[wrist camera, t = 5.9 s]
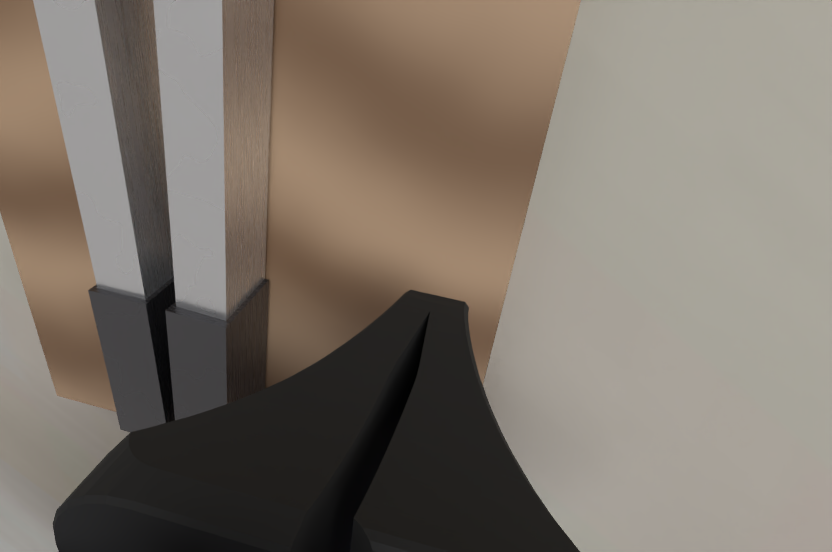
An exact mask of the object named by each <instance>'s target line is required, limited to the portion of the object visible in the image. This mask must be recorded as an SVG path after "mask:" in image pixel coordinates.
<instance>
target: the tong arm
mask: <svg viewBox="0 0 832 552" xmlns="http://www.w3.org/2000/svg"><path fill="white" fill-rule="evenodd" d="M153 3H154V17H155V30H156V43H157V57H158V70H159V84H160V97H161V110H162V124H163V137H164V151H165V164H166V177H167V191H168V204H169V218H170V231H171V244H172V258H173V271H174V285H175V298H176V301H175V302H174V303H173V304H172V305H171V306H170V307H169V308H168V309H166V310H165V313H166V324H167V335H168V347H169V358H170V369H171V381H172V392H173V403H174V415H175V420H179V419H182V418H186V417H190V416H193V415H196V414H199V413H202V412H205V411H208V410H211V409H214V408H217V407H220V406H223V405H226V404H229V403H231V402H234V401H236V400H239V399H242V398H244V397H247V396H249V395H252V394H254V393H256V392H259V391H261V390H263V389H265V374H266V348H267V321H268V295H269V280H268V279H265V259H266V229H267V199H268V168H269V138H270V108H271V78H272V47H273V17H274V0H153Z"/></svg>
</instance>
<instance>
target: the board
mask: <svg viewBox="0 0 832 552" xmlns="http://www.w3.org/2000/svg"><path fill="white" fill-rule="evenodd" d="M580 1H581V0H274V17H273V47H272V78H271V108H270V138H269V168H268V199H267V229H266V259H265V279H268V280H269V295H268V321H267V348H266V374H265V388H267V387H270V386H272V385H274V384H276V383H278V382H281V381H283V380H285V379H287V378H289V377H291V376H293V375H295V374H296V373H298V372H300V371H302V370H303V369H305V368H307V367H309V366H311V365H312V364H314V363H316V362H317V361H319V360H320V359H322V358H324V357H325V356H327V355H328V354H330V353H331V352H333V351H334V350H336V349H337V348H339V347H340V346H341V345H343V344H344V343H346V342H347V341H349V340H350V339H351V338H353V337H354V336H356V335H357V334H358V333H359V332H361V331H362V330H363V329H364V328H366V327H367V326H368V325H369V324H371V323H372V322H373V321H374V320H376V319H377V318H378V317H379V316H380V315H382V314H383V313H384V312H385V311H386V310H387V309H388V308H390V307H391V306H392V305H393V304H394V303H395V302H396V301H397V300H398V299H399V298H400V297H401V296H402V295H403V294H404V293H405V292H407V291H409V290H415V291H419V292H424V293H428V294H433V295H437V296H441V297H446V298H450V299H455V300H459V301H464V302H466V304H467V305H468V307H469V312H468V322H469V331H470V338H471V344H472V349H473V353H474V357H475V361H476V365H477V369H478V372H479V376H480V379H481V382H482V385H483V382H484V378H485V374H486V370H487V366H488V362H489V358H490V354H491V350H492V346H493V342H494V338H495V334H496V331H497V327H498V323H499V319H500V315H501V311H502V307H503V303H504V299H505V295H506V291H507V287H508V284H509V280H510V276H511V272H512V268H513V264H514V260H515V256H516V252H517V248H518V244H519V240H520V236H521V233H522V229H523V225H524V221H525V217H526V213H527V209H528V205H529V201H530V197H531V193H532V189H533V186H534V182H535V178H536V174H537V170H538V166H539V162H540V158H541V154H542V150H543V146H544V142H545V139H546V135H547V131H548V127H549V123H550V119H551V115H552V111H553V107H554V103H555V99H556V95H557V91H558V88H559V84H560V80H561V76H562V72H563V68H564V64H565V60H566V56H567V52H568V48H569V44H570V41H571V37H572V33H573V29H574V25H575V21H576V17H577V13H578V9H579V5H580ZM0 212H1V216H2V219H3V222H4V225H5V229H6V232H7V235H8V238H9V241H10V245H11V248H12V251H13V254H14V258H15V261H16V264H17V267H18V271H19V274H20V277H21V280H22V283H23V287H24V290H25V293H26V296H27V300H28V303H29V306H30V309H31V313H32V316H33V319H34V322H35V326H36V329H37V332H38V335H39V338H40V342H41V345H42V348H43V351H44V355H45V358H46V361H47V364H48V368H49V371H50V374H51V377H52V381H53V384H54V387H55V390H56V393H57V396H60V397H64V398H68V399H71V400H75V401H79V402H82V403H86V404H90V405H93V406H97V407H101V408H104V409H108V410H112V411H115V412H116V407H115V403H114V399H113V395H112V390H111V386H110V382H109V378H108V373H107V369H106V365H105V361H104V356H103V352H102V348H101V344H100V339H99V335H98V331H97V327H96V322H95V318H94V314H93V310H92V305H91V301H90V297H89V293H88V290H89V289H90V288H92V287H93V286H95V285H96V280H95V276H94V271H93V267H92V262H91V258H90V253H89V249H88V244H87V240H86V235H85V231H84V226H83V222H82V218H81V213H80V209H79V204H78V200H77V195H76V191H75V186H74V182H73V177H72V173H71V168H70V164H69V159H68V155H67V150H66V146H65V142H64V137H63V133H62V128H61V124H60V119H59V115H58V110H57V106H56V101H55V97H54V92H53V88H52V83H51V79H50V74H49V70H48V65H47V61H46V57H45V52H44V48H43V43H42V39H41V34H40V30H39V25H38V21H37V16H36V12H35V7H34V3H33V0H0Z"/></svg>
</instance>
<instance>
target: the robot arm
mask: <svg viewBox="0 0 832 552" xmlns="http://www.w3.org/2000/svg"><path fill="white" fill-rule="evenodd" d="M468 312H469V307H468V305H467V304H466V302H464V301H459V300H455V299H450V298H446V297H441V296H437V295H433V294H428V293H424V292H419V291H415V290H409V291H407V292H405V293H404V294H403V295H402V296H401V297H400V298H399V299H398V300H397V301H396V302H395V303H394V304H393V305H392V306H391V307H390V308H388V309H387V310H386V311H385V312H384V313H383V314H382V315H380V316H379V317H378V318H377V319H376V320H374V321H373V322H372V323H371V324H369V325H368V326H367V327H366V328H364V329H363V330H362V331H361V332H359V333H358V334H357V335H356V336H354V337H353V338H351V339H350V340H349V341H347V342H346V343H344V344H343V345H341V346H340V347H339V348H337V349H336V350H334V351H333V352H331V353H330V354H328V355H327V356H325V357H324V358H322V359H320V360H319V361H317V362H316V363H314V364H312V365H311V366H309V367H307V368H305V369H303V370H302V371H300V372H298V373H296V374H295V375H293V376H291V377H289V378H287V379H285V380H283V381H281V382H278V383H276V384H274V385H272V386H270V387H267V388H265V389H263V390H261V391H259V392H256V393H254V394H252V395H249V396H247V397H244V398H242V399H239V400H236V401H234V402H231V403H229V404H226V405H223V406H220V407H217V408H214V409H211V410H208V411H205V412H202V413H199V414H196V415H193V416H190V417H186V418H182V419H179V420H175V421H171V422H168V423H164V424H160V425H157V426H153V427H149V428H145V429H141V430H137V431H133V432H131V433H130V434H129V435H128V436H126V437H125V438H124V439H123V440H122V441H121V442H120V443H119V444H118V445H117V446H116V447H115V448H114V449H113V450H111V451H110V452H109V453H108V454H107V455H106V457H105V458H104V459H103V460H102V461H101V462H100V463H99V464H98V465H97V466H96V467H95V468H94V470H93V471H92V472H91V473H90V474H89V475H88V476H87V477H86V478H85V479H84V481H83V482H82V483H81V484H80V485H79V486H78V487H77V488H76V489H75V490H74V492H73V493H72V494H71V495H70V496H69V497H68V498H67V499H66V500H65V501H64V503H63V504H62V505H61V506H60V507H59V508H58V509H57V511H56V514H55V518H54V521H53V529H54V535H55V540H56V545H57V548H58V550H59V552H580V551H579V550H578V549H577V547H576V546H575V545H574V544H573V542H572V541H571V540H570V539H569V537H568V536H567V535H566V534H565V532H564V531H563V530H562V529H561V527H560V526H559V525H558V524H557V522H556V521H555V520H554V518H553V517H552V516H551V514H550V513H549V511H548V510H547V508H546V507H545V505H544V504H543V502H542V501H541V499H540V498H539V496H538V495H537V494H536V492H535V491H534V489H533V487H532V486H531V484H530V482H529V481H528V479H527V477H526V476H525V474H524V472H523V471H522V469H521V467H520V465H519V464H518V462H517V460H516V459H515V457H514V455H513V454H512V452H511V450H510V448H509V446H508V444H507V442H506V440H505V438H504V436H503V434H502V432H501V430H500V428H499V426H498V423H497V421H496V419H495V417H494V414H493V412H492V410H491V407H490V405H489V402H488V399H487V397H486V394H485V391H484V388H483V385H482V382H481V379H480V376H479V372H478V369H477V365H476V361H475V357H474V353H473V349H472V344H471V338H470V331H469V322H468Z"/></svg>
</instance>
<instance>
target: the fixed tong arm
mask: <svg viewBox="0 0 832 552" xmlns="http://www.w3.org/2000/svg"><path fill="white" fill-rule="evenodd" d="M33 3H34V7H35V12H36V16H37V21H38V25H39V30H40V34H41V39H42V43H43V48H44V52H45V57H46V61H47V65H48V70H49V74H50V79H51V83H52V88H53V92H54V97H55V101H56V106H57V110H58V115H59V119H60V124H61V128H62V133H63V137H64V142H65V146H66V150H67V155H68V159H69V164H70V168H71V173H72V177H73V182H74V186H75V191H76V195H77V200H78V204H79V209H80V213H81V218H82V222H83V226H84V231H85V235H86V240H87V244H88V249H89V253H90V258H91V262H92V267H93V271H94V276H95V280H96V285H95V286H93V287H92V288H90V289H89V290H88V293H89V297H90V301H91V305H92V310H93V314H94V318H95V322H96V327H97V331H98V335H99V339H100V344H101V348H102V352H103V356H104V361H105V365H106V369H107V373H108V378H109V382H110V386H111V390H112V395H113V399H114V403H115V407H116V412H117V416H118V420H119V424H120V429H121V430H124V431H128V432H133V431H137V430H141V429H145V428H149V427H153V426H157V425H160V424H164V423H168V422H171V421H175V415H174V403H173V392H172V381H171V369H170V358H169V347H168V335H167V324H166V313H165V310H166V309H168V308H169V307H170V306H171V305H172V304H173V303H174V302H175V301H176V298H175V285H174V271H173V258H172V244H171V231H170V218H169V204H168V191H167V177H166V164H165V151H164V137H163V124H162V110H161V97H160V84H159V70H158V57H157V43H156V30H155V17H154V3H153V0H33Z"/></svg>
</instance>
